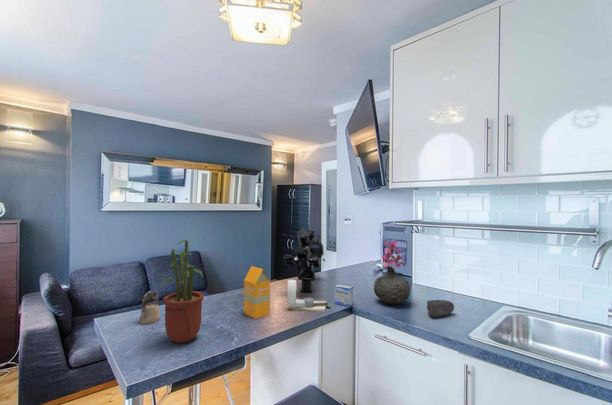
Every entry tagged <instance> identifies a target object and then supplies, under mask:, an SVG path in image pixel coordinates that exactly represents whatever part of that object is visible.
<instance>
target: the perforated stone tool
mask: <svg viewBox="0 0 612 405" xmlns="http://www.w3.org/2000/svg"><path fill="white" fill-rule="evenodd" d="M454 309H455V305H454V303H453V302H451V301H449V300H446V299H431V300H427V301H426V310H427V311H428V312H427V314H428V316H430V317H431V318H441V317H446V316H449V315H450V314H452V313H453V312H454Z"/></svg>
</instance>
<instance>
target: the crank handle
mask: <svg viewBox="0 0 612 405" xmlns="http://www.w3.org/2000/svg"><path fill="white" fill-rule="evenodd" d="M286 291H287V294H286V297H287V298H286V303H287V304H288V305H291V306H292V307H313V306H314V305H328V304H329V302H327V301H326V303H314V300H315V298H314V297H309V296H307V297H305V298H303V299H304V301H300V302H296V299H297V280H296V279H288V280H287V290H286ZM291 306H290V307H291Z"/></svg>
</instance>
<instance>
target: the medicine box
mask: <svg viewBox="0 0 612 405" xmlns="http://www.w3.org/2000/svg"><path fill="white" fill-rule="evenodd" d="M353 297H354V286H351V285H345V284H336V285H335V286H334V305H339V306H345V307H348V308H349V307H351V306H352V305H354V298H353Z"/></svg>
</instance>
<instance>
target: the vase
mask: <svg viewBox="0 0 612 405" xmlns="http://www.w3.org/2000/svg"><path fill="white" fill-rule="evenodd" d="M399 243H400V241H395V240H393V241H392V242H391V243H389V242H388V241H387V240H384V241H383V242H382V244H384V245H386V247H385V248H384V255H382V256H381V259H382V260H383V261H384V262H382V266H383V267H384V268H382V269H379V270H377V271H376V272H375V273H374V275H373V277H375V276H376V275H377V274H378V273H380V271H382V270H383V269H385V270H386V272H385V273H384V274H382V275H380V276H378V277H377V278H376V279H375V280H374V284H373V291H374V294H375V296H376V297H377V298H378V299H379V300H381V301H382V302H384V304H386V305H389V306H398V305H399V304H400V303H403V302H404V301H406V300H408V299H409V297H410V295H411V294H410V293H411V286H410V283H409V281H408V280H407V279H406V278H404V277H402V276H401V275H399V274H397V273H396V270H395V269H396V268H400V267H401V265H402V266H403V267H404V268H405V267H406V262H403V261H402V259H403V256H402V255H403V253H402V251H401V249H400V248H399V247H396V246H397V245H398V244H399ZM395 252H398V253H397V254H396V256H395V255H394V253H395ZM394 265H395V267H394V268H395V269H394V268H393V266H394Z"/></svg>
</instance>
